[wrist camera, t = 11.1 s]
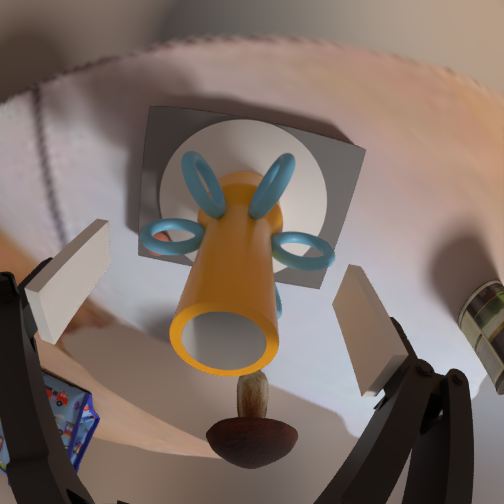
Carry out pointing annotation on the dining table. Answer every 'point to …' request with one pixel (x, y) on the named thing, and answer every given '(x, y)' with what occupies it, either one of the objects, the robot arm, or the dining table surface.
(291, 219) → the mount slab
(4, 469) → the lunch bag
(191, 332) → the yellow tube with rings
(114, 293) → the dining table surface
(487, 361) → the coffee can
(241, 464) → the decorative mushroom
